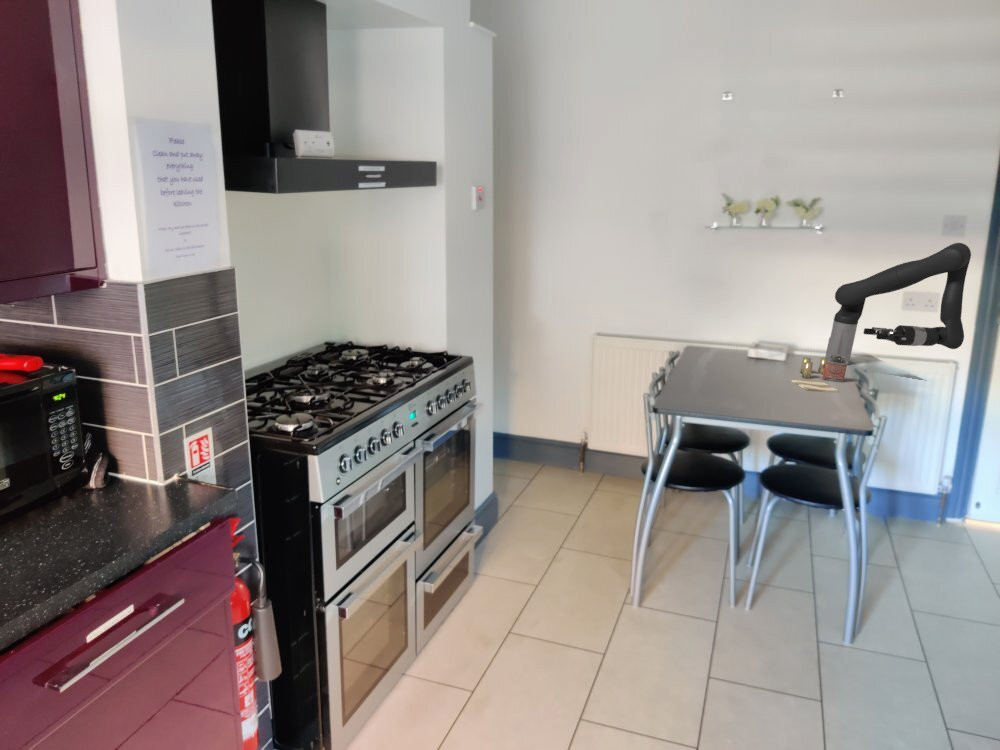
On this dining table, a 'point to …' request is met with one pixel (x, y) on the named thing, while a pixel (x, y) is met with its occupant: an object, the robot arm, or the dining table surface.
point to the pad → (814, 385)
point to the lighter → (835, 369)
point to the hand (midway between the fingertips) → (870, 333)
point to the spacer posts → (807, 367)
